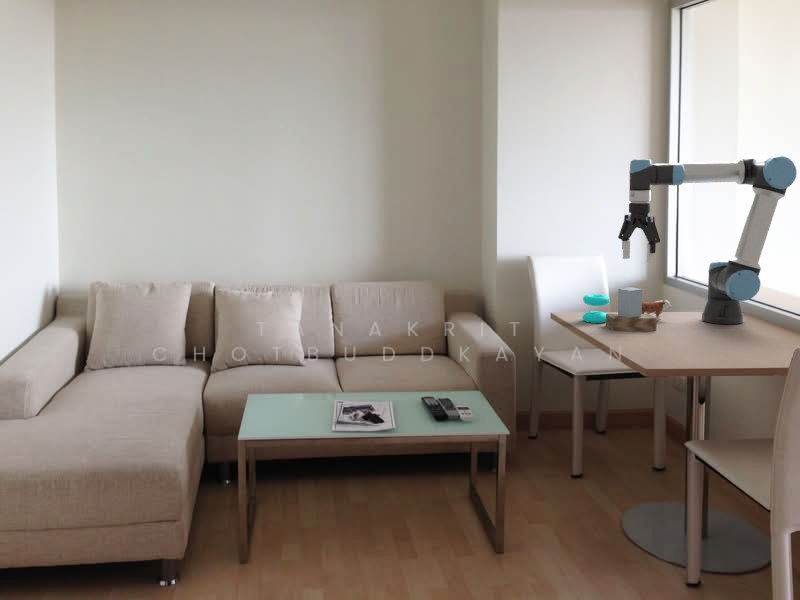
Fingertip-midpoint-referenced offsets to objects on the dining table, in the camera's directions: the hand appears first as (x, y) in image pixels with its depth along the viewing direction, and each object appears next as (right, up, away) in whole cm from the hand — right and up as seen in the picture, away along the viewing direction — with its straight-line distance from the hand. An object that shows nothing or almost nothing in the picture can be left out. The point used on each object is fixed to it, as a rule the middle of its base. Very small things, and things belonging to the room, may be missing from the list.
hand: (638, 260), depth 352 cm
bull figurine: (+11, -23, +20) cm, 32 cm away
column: (-3, -20, +2) cm, 21 cm away
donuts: (-12, -23, +17) cm, 31 cm away
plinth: (-2, -25, +3) cm, 26 cm away
